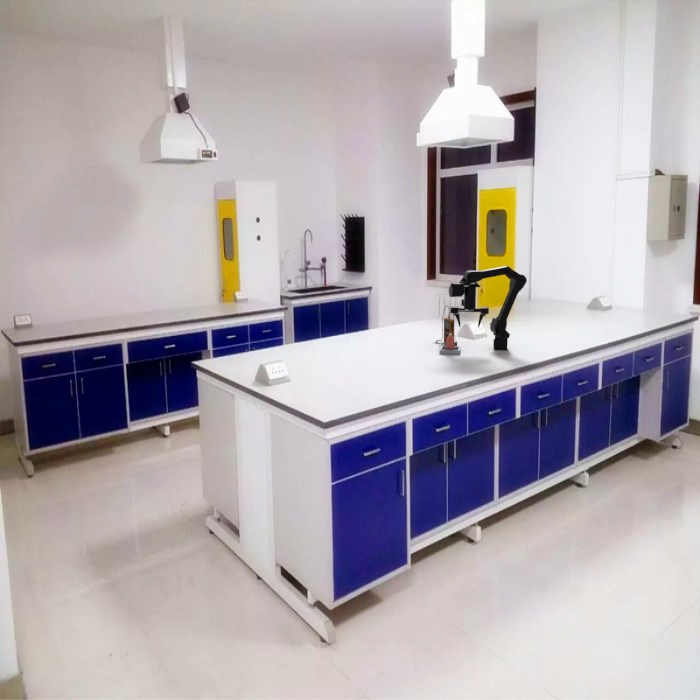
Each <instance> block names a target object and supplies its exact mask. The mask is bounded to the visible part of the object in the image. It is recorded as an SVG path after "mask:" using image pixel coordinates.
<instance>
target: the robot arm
mask: <svg viewBox="0 0 700 700" xmlns="http://www.w3.org/2000/svg"><path fill="white" fill-rule="evenodd" d="M498 276H505V277H506V278H508V279H509V283H508V284H509V287H508V288H509V289H508V292H507V294H506V296H505V299H504V302H503V304H502V306H501V308H500V311H499V313H498V315H497V316H496V317H492V319H491V322H490V324H489V329H490V331H491V333H492V334H493V337H494V338H493V349H494V351H495V350H496V351H497V350H498V351H499V350H500V351H504V350H505V351H507V350H509V349H508V339H509V338H510V336H511V334H510V333H509V332H508V331H507V324H508V317H509V316H510V313H511V310H512V308H513V306H514V304H515V301H516V299H517V296H518V295H519V292H521V291H522V289H523V288H524V287H525V285H526V284H527V277H526V275H524V274H521V273H518V272H517V271H515V270H514V269H512V268H511V267H510V266H508V265H503V266H500V267H495V268H487V269H483V270H466V271H465V272H463V275H462V278H461V279H460V281H459V283H458V282H456V283H454V282H450V284H449V285H450V286H449V289H448V295H449V297H450V298H458V297H459V298H460V297H463V296H464V297H463V299H461V307H460V306H454V305H451V306H450V308H451V309H450V314H452V315H454V317H455V318H456V321H457V324H458V326H459V328H461V316H460V313H479V317H478V318H479V319H478V323H477V328H480V326H481V323H482V320H483V318H484V317H486V316H487V315H489V314H490V313H489V312H490V308H489V306H481V307H480V308H477V307H476V305H477V288H481V285H480V284H479V283H478V282H481V280H484V279H489V278H493V277H494V278H495V277H498Z"/></svg>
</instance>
